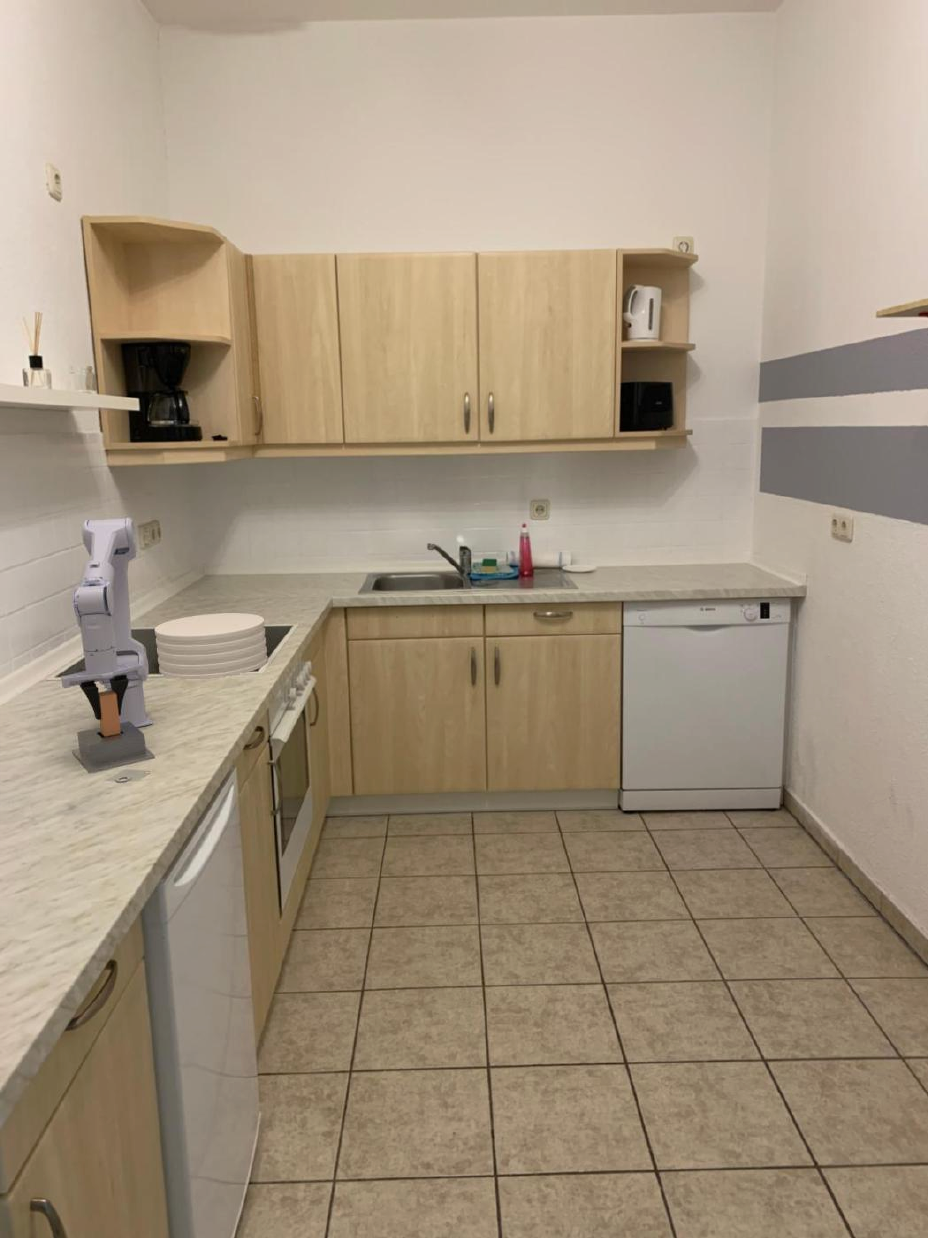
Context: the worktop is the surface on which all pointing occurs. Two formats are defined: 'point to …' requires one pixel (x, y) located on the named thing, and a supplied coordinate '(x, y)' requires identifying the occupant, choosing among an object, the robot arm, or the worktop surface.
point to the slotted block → (111, 748)
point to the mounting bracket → (129, 775)
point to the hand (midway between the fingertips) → (108, 716)
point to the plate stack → (211, 645)
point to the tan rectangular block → (109, 713)
